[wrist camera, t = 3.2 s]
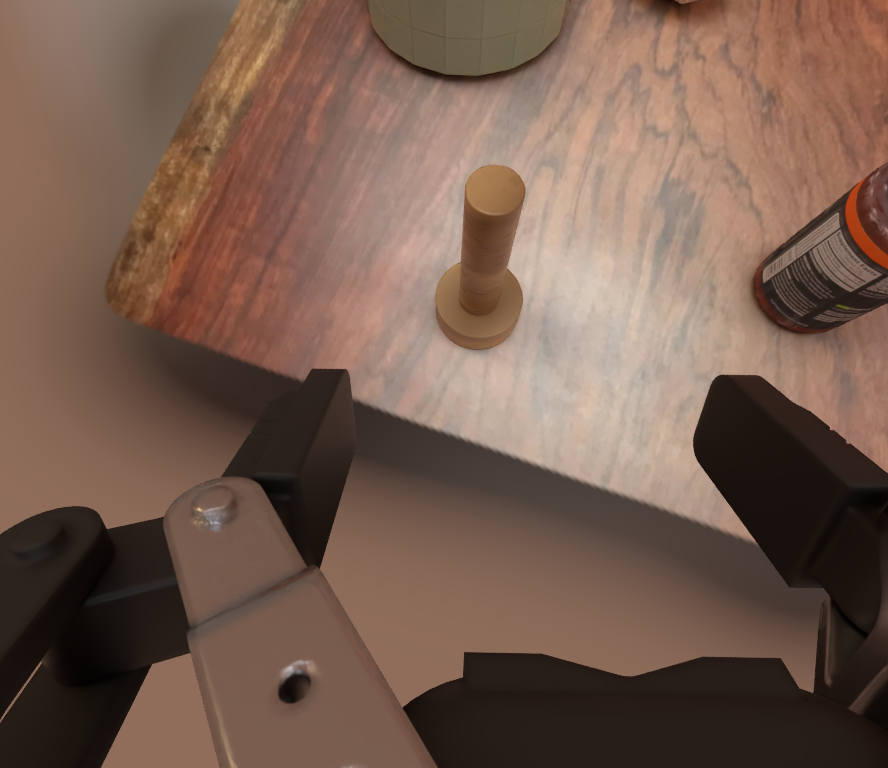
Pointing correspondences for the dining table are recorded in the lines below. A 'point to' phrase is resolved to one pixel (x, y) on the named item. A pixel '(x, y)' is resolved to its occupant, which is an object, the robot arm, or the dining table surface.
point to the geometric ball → (684, 1)
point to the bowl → (467, 32)
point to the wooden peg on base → (484, 263)
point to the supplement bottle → (831, 263)
